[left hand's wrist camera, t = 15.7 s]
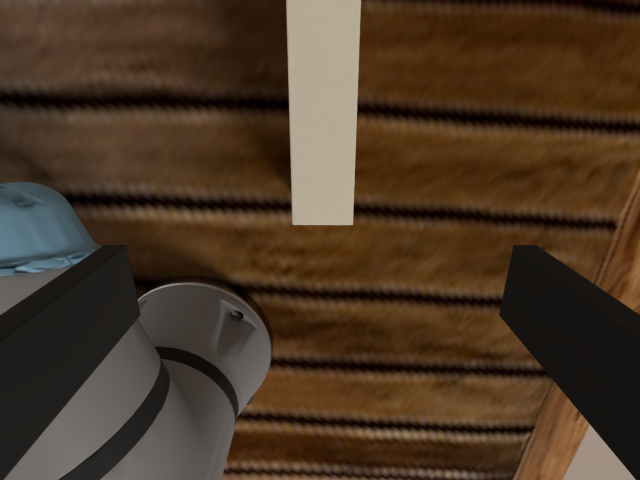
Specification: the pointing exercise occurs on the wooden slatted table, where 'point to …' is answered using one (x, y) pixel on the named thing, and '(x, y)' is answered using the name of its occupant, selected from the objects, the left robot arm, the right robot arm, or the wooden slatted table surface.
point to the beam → (323, 108)
